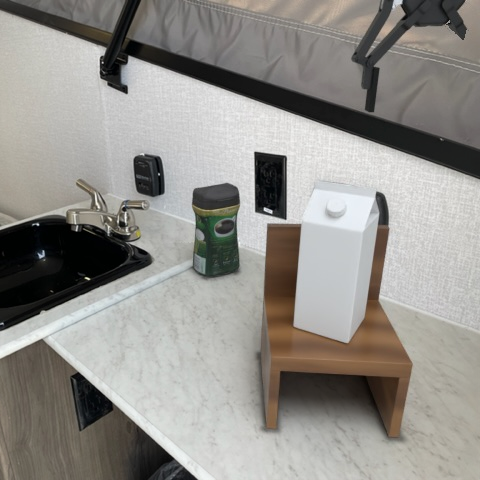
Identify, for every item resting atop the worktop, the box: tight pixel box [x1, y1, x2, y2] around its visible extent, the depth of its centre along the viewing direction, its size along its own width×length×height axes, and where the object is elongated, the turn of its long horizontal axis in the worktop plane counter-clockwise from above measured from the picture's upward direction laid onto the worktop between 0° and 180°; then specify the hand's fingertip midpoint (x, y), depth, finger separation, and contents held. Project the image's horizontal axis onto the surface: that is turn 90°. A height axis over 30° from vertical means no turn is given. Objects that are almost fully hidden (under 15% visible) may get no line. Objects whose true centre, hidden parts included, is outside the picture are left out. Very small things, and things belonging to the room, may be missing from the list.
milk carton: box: [293, 179, 380, 343], centre depth 62 cm, size 7×7×19 cm
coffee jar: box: [191, 182, 241, 278], centre depth 103 cm, size 10×8×19 cm
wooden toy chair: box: [259, 222, 414, 438], centre depth 65 cm, size 16×16×22 cm
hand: (415, 110), depth 77 cm, fingers open, 13 cm apart
